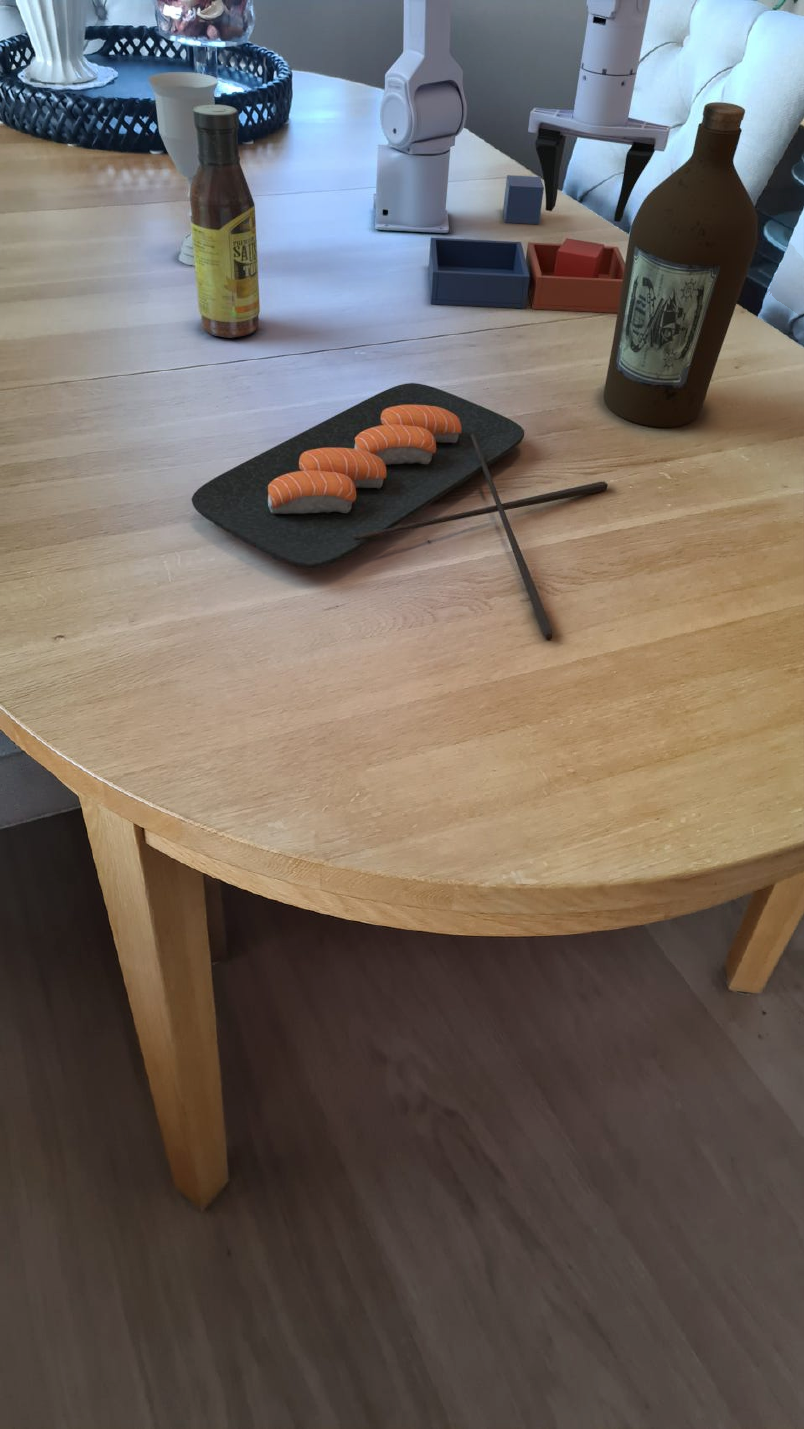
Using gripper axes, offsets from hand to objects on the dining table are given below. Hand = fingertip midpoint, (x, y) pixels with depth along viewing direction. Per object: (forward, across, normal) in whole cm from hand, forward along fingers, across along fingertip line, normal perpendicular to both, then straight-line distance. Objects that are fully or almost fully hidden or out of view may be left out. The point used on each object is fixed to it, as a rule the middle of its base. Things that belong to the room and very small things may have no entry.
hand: (584, 213), depth 107 cm
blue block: (+8, +11, -22) cm, 26 cm away
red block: (+8, 0, +1) cm, 8 cm away
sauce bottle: (+8, +31, +26) cm, 42 cm away
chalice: (+8, +43, +10) cm, 45 cm away
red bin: (+8, 0, +1) cm, 8 cm away
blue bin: (+8, +10, +4) cm, 14 cm away
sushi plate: (+8, +1, +52) cm, 52 cm away
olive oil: (+8, -13, +25) cm, 29 cm away
